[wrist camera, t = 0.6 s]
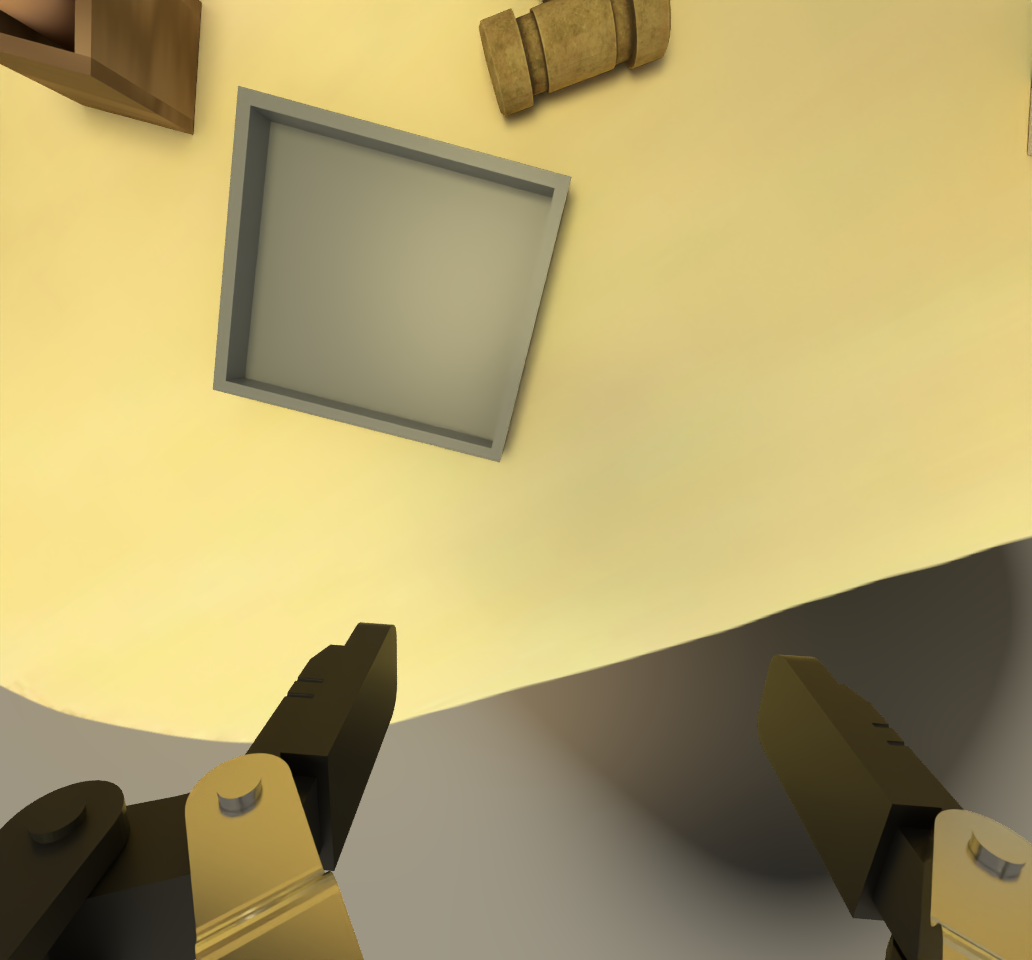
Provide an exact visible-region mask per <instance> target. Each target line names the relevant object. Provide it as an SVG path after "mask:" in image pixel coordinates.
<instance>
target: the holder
mask: <svg viewBox="0 0 1032 960" xmlns="http://www.w3.org/2000/svg"><path fill="white" fill-rule="evenodd" d="M200 16H201V2H200V1H199V0H75V53H73V52H70V51H68V50H67V49H65V48H63V47H62V46H60V45H58V44H57V43H55V42H53V41H52V40H50V39H48V38H47V37H45V36H43V35H42V34H40V33H38V32H37V31H35V30H33V29H32V28H30V27H28V26H27V25H25V24H23V23H22V22H20V21H18V20H17V19H15V18H13V17H12V16H10V15H8V14H7V13H5V12H3V11H2V10H0V64H2V65H4V66H6V67H8V68H10V69H12V70H14V71H16V72H18V73H20V74H22V75H24V76H26V77H28V78H30V79H32V80H34V81H36V82H38V83H40V84H42V85H44V86H46V87H48V88H50V89H52V90H54V91H56V92H58V93H60V94H62V95H64V96H66V97H68V98H70V99H72V100H74V101H76V102H78V103H80V104H82V105H85V106H89V107H92V108H96V109H100V110H104V111H107V112H111V113H115V114H118V115H122V116H126V117H130V118H133V119H137V120H141V121H144V122H148V123H152V124H156V125H159V126H163V127H167V128H170V129H174V130H178V131H182V132H185V133H189V134H193V126H194V110H195V95H196V79H197V63H198V48H199V32H200Z"/></svg>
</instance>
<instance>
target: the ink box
mask: <svg viewBox="0 0 1032 960" xmlns="http://www.w3.org/2000/svg"><path fill="white" fill-rule="evenodd" d="M1028 154H1029V155H1032V90H1031V105H1030V119H1029V139H1028Z"/></svg>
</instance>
